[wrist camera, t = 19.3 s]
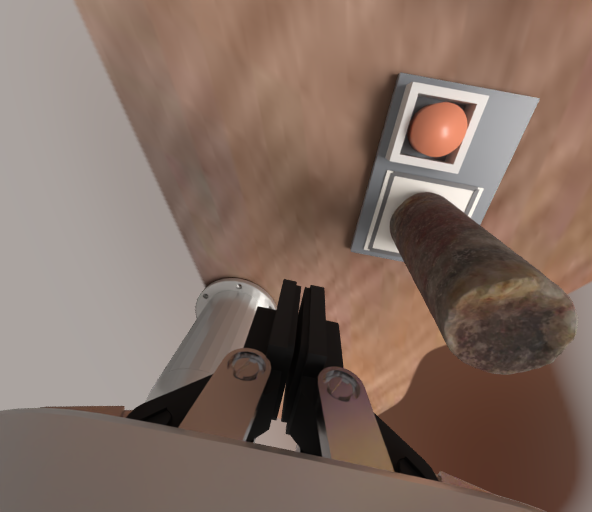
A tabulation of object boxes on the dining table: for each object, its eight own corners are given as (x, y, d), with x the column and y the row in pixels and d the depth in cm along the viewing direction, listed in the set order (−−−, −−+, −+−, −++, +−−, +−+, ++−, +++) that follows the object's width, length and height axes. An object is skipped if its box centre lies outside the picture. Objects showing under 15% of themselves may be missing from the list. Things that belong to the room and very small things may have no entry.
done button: (445, 158, 31) (454, 161, 29) (401, 149, 31) (407, 152, 29) (464, 108, 29) (476, 107, 27) (416, 99, 29) (424, 97, 27)
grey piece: (454, 268, 38) (466, 282, 35) (350, 248, 39) (352, 260, 35) (533, 99, 30) (558, 96, 27) (398, 73, 30) (406, 68, 27)
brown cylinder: (413, 261, 37) (496, 394, 19) (373, 225, 36) (421, 333, 18) (465, 218, 34) (618, 328, 16) (423, 176, 33) (542, 247, 15)
